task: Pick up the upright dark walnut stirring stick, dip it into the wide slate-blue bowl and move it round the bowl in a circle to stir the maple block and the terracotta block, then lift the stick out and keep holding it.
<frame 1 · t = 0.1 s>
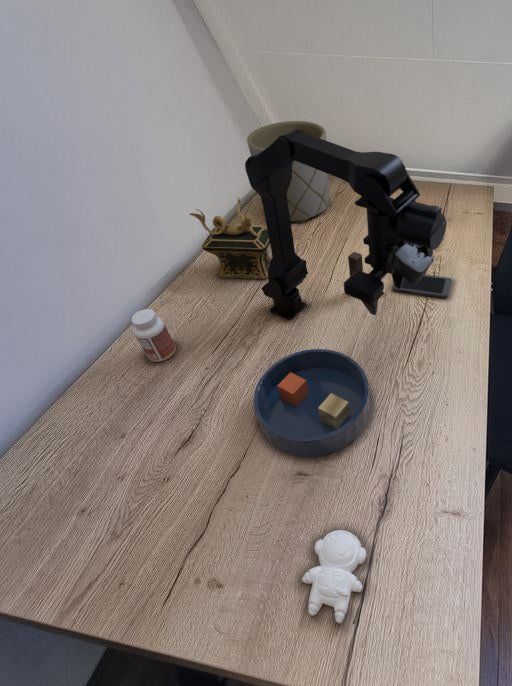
hand: (386, 300, 88), 15 cm above the table, tool pointing down, fingers open, 9 cm apart
astronaut figurine: (335, 575, 66), on the table
decorative box: (241, 269, 124), on the table
stirring stick: (357, 291, 114), on the table
bowl: (315, 408, 88), on the table
pill bottle: (162, 353, 102), on the table
maple block: (335, 417, 86), point 1 cm above the table, touching bowl
terracotta block: (294, 395, 90), point 1 cm above the table, touching bowl
planter: (298, 208, 147), on the table
cell phone: (422, 286, 115), on the table
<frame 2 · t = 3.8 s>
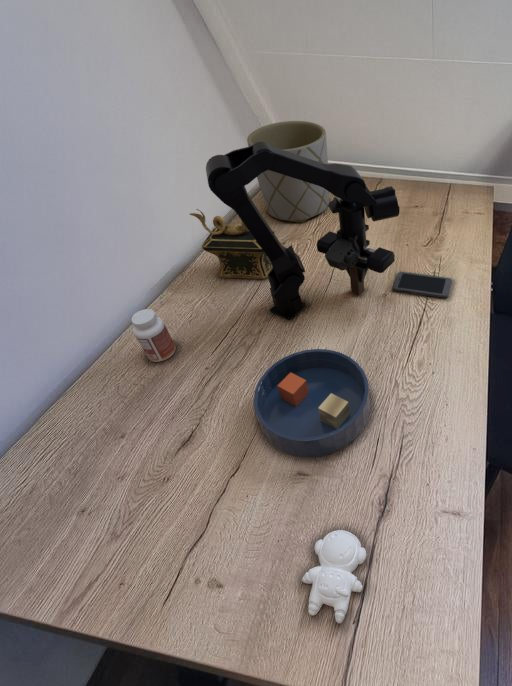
hand: (357, 279, 112), 4 cm above the table, tool pointing down, fingers closed on stirring stick, 2 cm apart
stirring stick: (357, 291, 114), on the table, touching gripper
everything else where it was.
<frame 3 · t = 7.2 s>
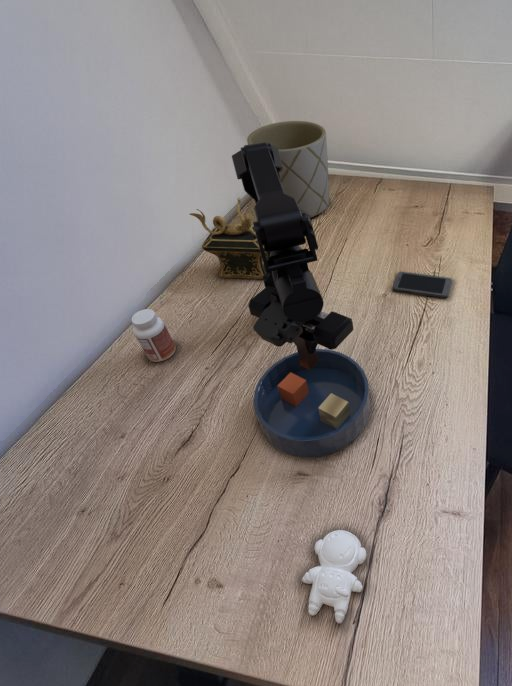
hand: (306, 350, 83), 12 cm above the table, tool pointing down, fingers closed on stirring stick, 2 cm apart
stirring stick: (309, 363, 85), point 9 cm above the table, touching gripper
everything else where it was.
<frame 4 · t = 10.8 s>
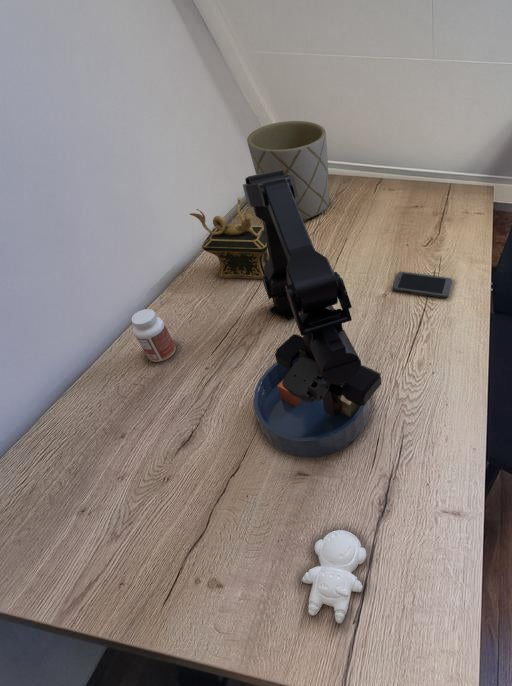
hand: (331, 398, 82), 6 cm above the table, tool pointing down, fingers closed on stirring stick, 2 cm apart
stirring stick: (333, 410, 85), point 2 cm above the table, touching gripper
maple block: (348, 405, 88), point 1 cm above the table, touching bowl
everything else where it was.
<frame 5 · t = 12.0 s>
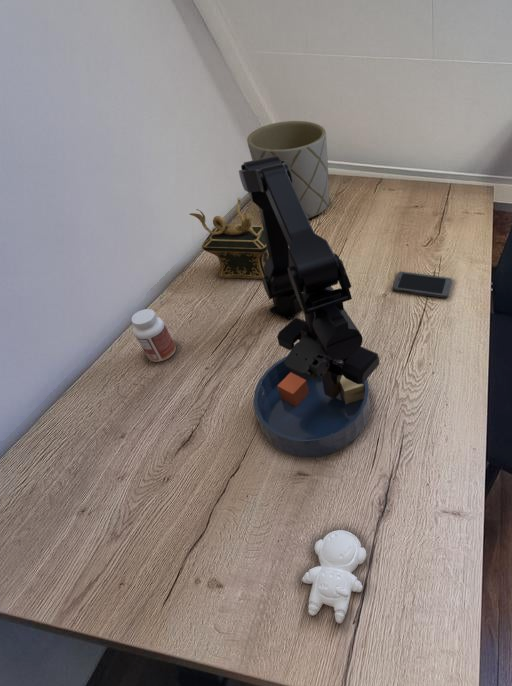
hand: (331, 379, 86), 6 cm above the table, tool pointing down, fingers closed on stirring stick, 2 cm apart
stirring stick: (332, 392, 88), point 2 cm above the table, touching gripper, maple block
maple block: (352, 394, 90), point 1 cm above the table, touching bowl, stirring stick
everything else where it was.
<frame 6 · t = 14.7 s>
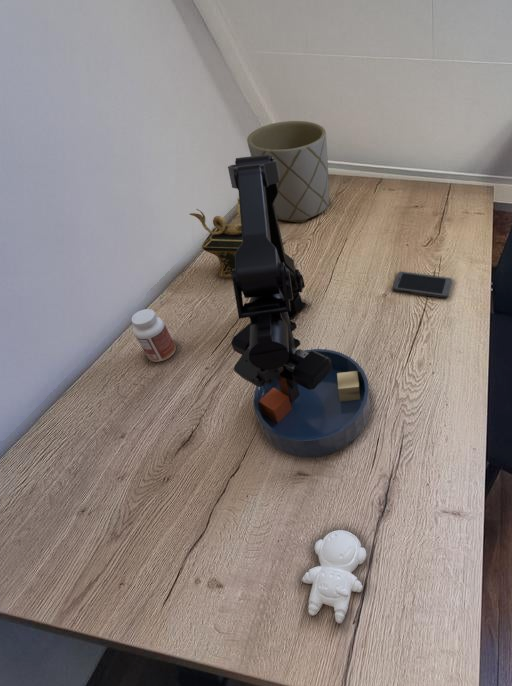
hand: (288, 384, 85), 6 cm above the table, tool pointing down, fingers closed on stirring stick, 2 cm apart
stirring stick: (291, 397, 88), point 2 cm above the table, touching gripper, terracotta block
maple block: (349, 392, 90), point 1 cm above the table, touching bowl
terracotta block: (277, 411, 87), point 1 cm above the table, touching bowl, stirring stick
everything else where it was.
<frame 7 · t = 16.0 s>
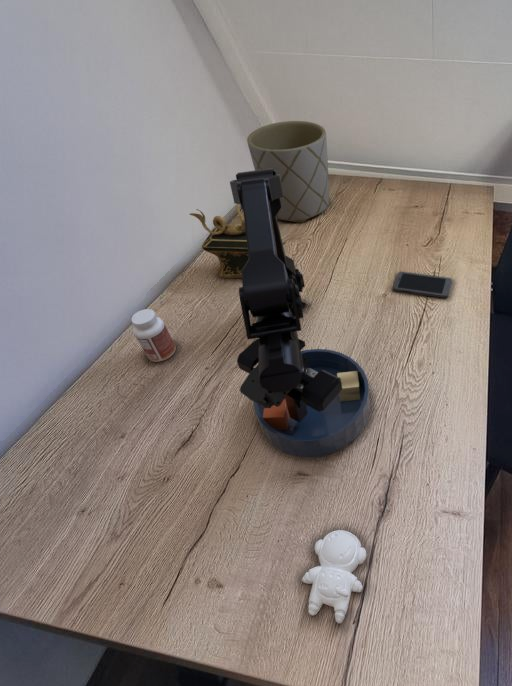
hand: (295, 403, 82), 6 cm above the table, tool pointing down, fingers closed on stirring stick, 2 cm apart
stirring stick: (298, 415, 84), point 2 cm above the table, touching gripper
terracotta block: (278, 421, 86), point 1 cm above the table, touching bowl
everything else where it was.
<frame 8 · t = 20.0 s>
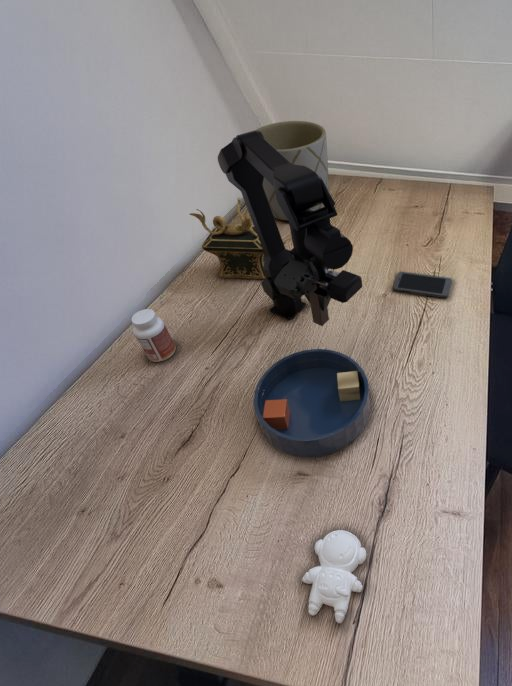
hand: (319, 307, 92), 12 cm above the table, tool pointing down, fingers closed on stirring stick, 2 cm apart
stirring stick: (321, 321, 94), point 8 cm above the table, touching gripper
everything else where it was.
at the end: maple block moved 6.4 cm from its start; terracotta block moved 6.4 cm from its start; the gripper is holding stirring stick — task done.
